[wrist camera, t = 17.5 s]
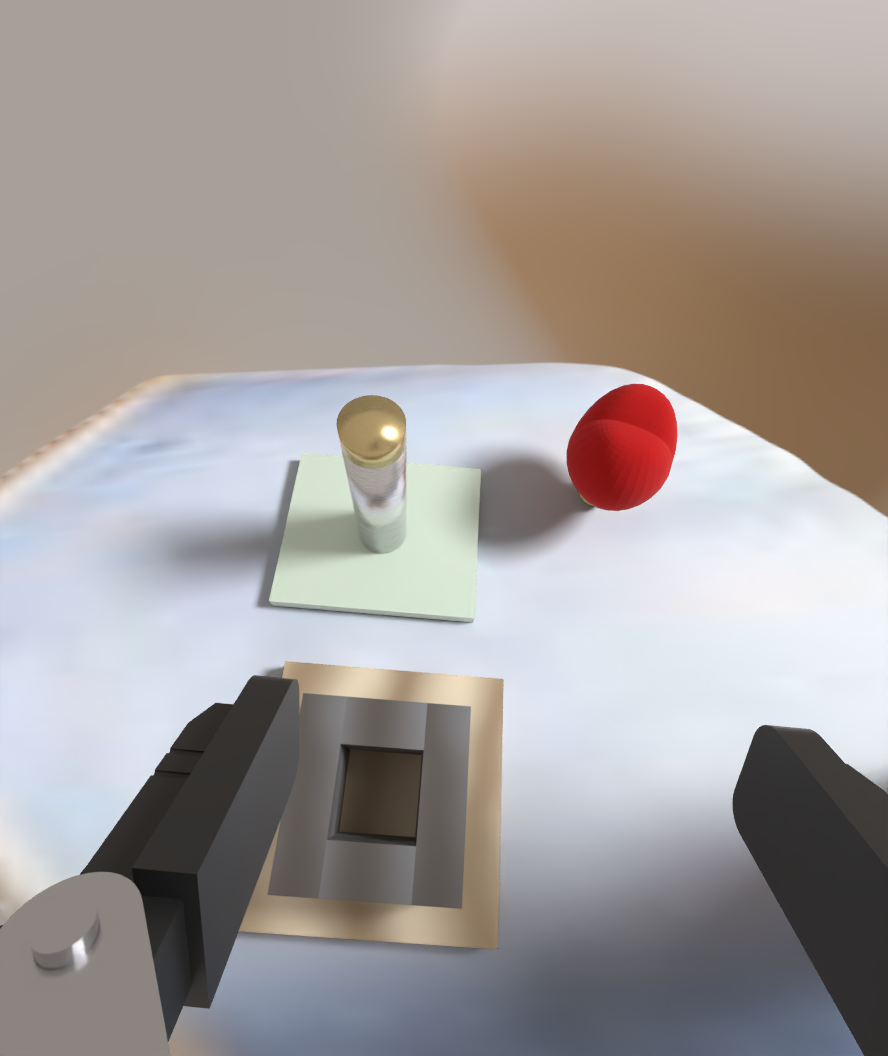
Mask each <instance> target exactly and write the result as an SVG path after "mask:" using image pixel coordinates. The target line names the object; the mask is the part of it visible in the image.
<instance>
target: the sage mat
mask: <svg viewBox="0 0 888 1056" xmlns="http://www.w3.org/2000/svg"><path fill="white" fill-rule="evenodd" d="M406 475H407V536H406V539H405V541H404V543H403V544H402V545H401V546H400V547H399V548H398V549H396V550H395V551H393V552H390V553H384V554H381V553H375V552H372V551H370V550H368V549H367V548H366V547H365V546H364V545H363V544H362V542H361V540H360V538H359V533H358V528H357V523H356V518H355V513H354V508H353V503H352V498H351V493H350V489H349V484H348V479H347V474H346V469H345V464H344V459H343V457H341V456H330V455H319V454H308V453H302V454H301V458H300V463H299V467H298V472H297V476H296V481H295V485H294V490H293V494H292V499H291V503H290V508H289V512H288V517H287V521H286V526H285V530H284V535H283V539H282V544H281V548H280V553H279V557H278V562H277V566H276V571H275V575H274V580H273V585H272V589H271V594H270V598H269V602H270V603H271V604H272V605H273V606H284V607H296V608H308V609H320V610H332V611H344V612H356V613H368V614H380V615H391V616H403V617H415V618H427V619H439V620H451V621H463V622H473V621H474V615H475V593H476V571H477V549H478V527H479V505H480V483H481V469H473V468H462V467H451V466H440V465H429V464H418V463H407V462H406Z"/></svg>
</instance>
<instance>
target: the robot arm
mask: <svg viewBox="0 0 888 1056" xmlns="http://www.w3.org/2000/svg"><path fill="white" fill-rule="evenodd" d="M299 748H300V739H299V683H298V680H297V679H288V678H278V677H267V676H256V675H254V676H252V677H251V678H250V679H249V681H248V682H247V684H246V685H245V687H244V689H243V690H242V692H241V693H240V695H239V697H238V698H237V700H236V701H235V703H234V705H233V704H222V703H215V704H214V705H212V706H211V707H209V708H208V709H207V710H205V711H204V712H203V713H201V714H200V715H198V716H197V717H196V718H194V719H193V720H192V721H190V722H189V723H188V724H187V725H186V727H185V728H184V730H183V731H182V733H181V734H180V735H179V737H178V738H177V740H176V741H175V742H174V744H173V745H172V747H171V748H170V752H169V753H167V754H166V755H165V756H164V758H163V759H162V761H161V762H160V763H159V765H158V766H157V768H156V769H155V773H154V775H153V776H150V778H149V779H148V780H147V782H146V783H145V785H144V786H143V787H142V789H141V790H140V792H139V793H138V794H137V796H136V797H135V799H134V800H133V801H132V803H131V804H130V806H129V807H128V808H127V810H126V811H125V813H124V814H123V816H122V817H121V818H120V820H119V821H118V823H117V824H116V825H115V827H114V828H113V830H112V831H111V832H110V834H109V835H108V837H107V838H106V839H105V841H104V842H103V844H102V845H101V846H100V848H99V849H98V851H97V852H96V854H95V855H94V856H93V858H92V859H91V861H90V862H89V863H88V865H87V866H86V867H85V868H84V870H83V871H82V872H81V873H80V875H78V876H74V877H72V878H69V879H66V880H63V881H61V882H59V883H57V884H55V885H53V886H51V887H49V888H47V889H46V890H44V891H42V892H41V893H39V894H37V895H36V896H35V897H33V898H32V899H31V900H29V901H28V902H27V903H25V904H24V905H23V906H22V907H21V908H20V909H18V910H17V911H16V912H15V913H14V914H13V915H12V916H11V917H10V918H9V919H8V920H7V922H6V923H5V924H4V925H1V926H0V1056H170V1051H169V1045H168V1041H169V1039H170V1036H171V1034H172V1032H173V1029H174V1027H175V1024H176V1022H177V1020H178V1017H179V1015H180V1012H181V1010H182V1008H183V1006H189V1007H200V1008H210V1006H211V1003H212V1001H213V998H214V995H215V993H216V990H217V987H218V985H219V982H220V979H221V977H222V974H223V971H224V969H225V966H226V963H227V961H228V958H229V955H230V953H231V950H232V947H233V945H234V942H235V939H236V937H237V934H238V931H239V929H240V926H241V923H242V921H243V918H244V916H245V913H246V910H247V908H248V905H249V902H250V900H251V897H252V894H253V892H254V889H255V886H256V884H257V881H258V878H259V876H260V873H261V870H262V868H263V865H264V862H265V860H266V857H267V854H268V852H269V849H270V846H271V844H272V841H273V838H274V836H275V833H276V830H277V828H278V825H279V823H280V820H281V817H282V815H283V812H284V809H285V807H286V804H287V801H288V799H289V796H290V793H291V791H292V788H293V785H294V781H295V777H296V773H297V767H298V761H299ZM733 814H734V819H735V823H736V826H737V828H738V831H739V833H740V835H741V837H742V839H743V840H744V842H745V844H746V846H747V847H748V849H749V851H750V853H751V855H752V856H753V858H754V860H755V862H756V863H757V865H758V867H759V869H760V871H761V872H762V874H763V876H764V878H765V880H766V881H767V883H768V885H769V887H770V888H771V890H772V892H773V894H774V896H775V897H776V899H777V901H778V903H779V904H780V906H781V908H782V910H783V912H784V913H785V915H786V917H787V919H788V921H789V922H790V924H791V926H792V928H793V929H794V931H795V933H796V935H797V937H798V938H799V940H800V942H801V944H802V945H803V947H804V949H805V951H806V953H807V954H808V956H809V958H810V960H811V961H812V963H813V965H814V967H815V969H816V970H817V972H818V974H819V976H820V978H821V979H822V981H823V983H824V985H825V986H826V988H827V990H828V992H829V994H830V995H831V997H832V999H833V1001H834V1002H835V1004H836V1006H837V1008H838V1010H839V1011H840V1013H841V1015H842V1017H843V1018H844V1020H845V1022H846V1024H847V1026H848V1027H849V1029H850V1031H851V1033H852V1035H853V1036H854V1038H855V1040H856V1042H857V1043H858V1045H859V1047H860V1049H861V1051H862V1052H863V1054H864V1056H888V795H887V794H886V793H885V791H884V790H882V789H881V788H880V787H878V786H877V785H875V784H874V783H873V782H871V781H870V780H869V779H867V778H866V777H865V776H863V775H862V774H860V773H859V772H858V771H856V770H855V769H854V768H852V767H851V766H849V765H848V764H845V763H844V762H843V761H842V760H841V758H840V757H839V756H838V755H837V754H836V753H835V752H834V751H833V750H832V749H831V747H830V746H829V745H828V744H827V743H826V742H825V741H824V740H823V739H822V737H821V736H820V735H819V734H817V733H816V732H815V731H813V730H810V729H802V728H791V727H781V726H770V725H763V726H761V727H759V728H758V729H757V731H756V732H755V734H754V737H753V739H752V742H751V745H750V748H749V751H748V754H747V756H746V759H745V762H744V765H743V768H742V771H741V773H740V776H739V779H738V782H737V785H736V788H735V790H734V794H733Z"/></svg>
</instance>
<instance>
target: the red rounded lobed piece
mask: <svg viewBox="0 0 888 1056" xmlns="http://www.w3.org/2000/svg"><path fill="white" fill-rule="evenodd" d="M676 443H677V421H676V417H675V413H674V409H673V407H672V405H671V403H670V401H669V400H668V399H667V398H666V397H665V395H664V394H662V393H661V392H660V391H658V390H657V389H655V388H653V387H651V386H648V385H644V384H630V385H624V386H621V387H619V388H616V389H614V390H612V391H610V392H609V393H607V394H606V395H604V396H603V397H601V398H600V399H599V400H597V401H596V402H595V403H594V404H593V405H592V406H591V407H590V408H589V409H588V410H587V412H586V413H585V414H584V416H583V417H582V418H581V420H580V421H579V422H578V424H577V426H576V428H575V430H574V431H573V433H572V435H571V437H570V440H569V443H568V448H567V467H568V472H569V475H570V477H571V480H572V482H573V484H574V486H575V487H576V489H577V491H578V492H579V495H580V497H581V498H582V500H583V501H584V502H586V503H587V504H589V505H592V506H596V507H597V508H600V509H604V510H612V511H619V510H626V509H630V508H633V507H635V506H638V505H640V504H642V503H644V502H645V501H647V500H649V499H650V498H651V497H652V496H653V495H654V494H656V493H657V492H658V491H659V490H660V488H661V487H662V486H663V484H664V482H665V481H666V479H667V477H668V475H669V472H670V468H671V465H672V461H673V458H674V455H675V451H676Z"/></svg>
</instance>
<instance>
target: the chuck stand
mask: <svg viewBox="0 0 888 1056" xmlns="http://www.w3.org/2000/svg"><path fill="white" fill-rule="evenodd" d="M282 678H288V679H297V680H298V683H299V739H300V748H299V761H298V767H297V773H296V777H295V781H294V785H293V788H292V791H291V793H290V796H289V799H288V801H287V804H286V807H285V809H284V812H283V815H282V817H281V820H280V823H279V825H278V828H277V830H276V833H275V836H274V838H273V841H272V844H271V846H270V849H269V852H268V854H267V857H266V860H265V862H264V865H263V868H262V870H261V873H260V876H259V878H258V881H257V884H256V886H255V889H254V892H253V894H252V897H251V900H250V902H249V905H248V908H247V910H246V913H245V916H244V918H243V921H242V923H241V926H240V929H239V931H242V932H256V933H270V934H285V935H299V936H313V937H328V938H342V939H356V940H370V941H385V942H399V943H413V944H428V945H442V946H456V947H471V948H485V949H498V923H499V873H500V823H501V773H502V723H503V679H495V678H483V677H471V676H458V675H446V674H434V673H422V672H409V671H397V670H385V669H373V668H360V667H348V666H336V665H324V664H312V663H299V662H287V661H285V665H284V670H283V675H282Z"/></svg>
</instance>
